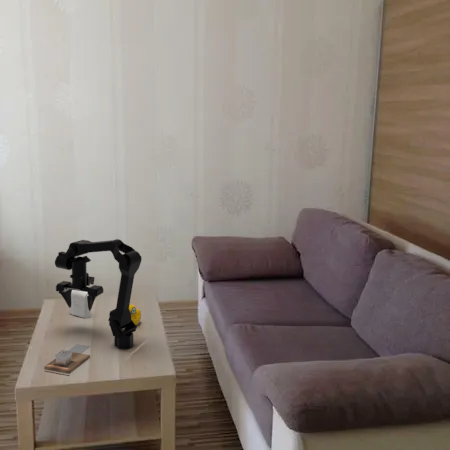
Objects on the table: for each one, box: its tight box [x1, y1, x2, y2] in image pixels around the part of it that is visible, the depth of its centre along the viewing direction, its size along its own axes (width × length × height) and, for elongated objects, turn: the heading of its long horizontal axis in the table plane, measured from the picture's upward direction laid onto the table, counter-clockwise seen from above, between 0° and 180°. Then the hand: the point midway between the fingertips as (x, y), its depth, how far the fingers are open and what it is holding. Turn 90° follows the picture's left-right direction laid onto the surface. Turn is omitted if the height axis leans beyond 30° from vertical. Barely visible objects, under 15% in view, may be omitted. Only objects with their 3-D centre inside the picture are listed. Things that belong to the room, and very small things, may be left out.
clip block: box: [55, 349, 72, 368], centre depth 206 cm, size 4×4×6 cm
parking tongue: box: [67, 343, 92, 354], centre depth 221 cm, size 6×8×1 cm
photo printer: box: [69, 290, 92, 319], centre depth 257 cm, size 10×4×12 cm, turn 60°
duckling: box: [129, 303, 142, 326], centre depth 246 cm, size 11×5×10 cm, turn 151°
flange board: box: [43, 352, 91, 377], centre depth 208 cm, size 10×14×2 cm
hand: (79, 308), depth 232 cm, fingers open, 9 cm apart
